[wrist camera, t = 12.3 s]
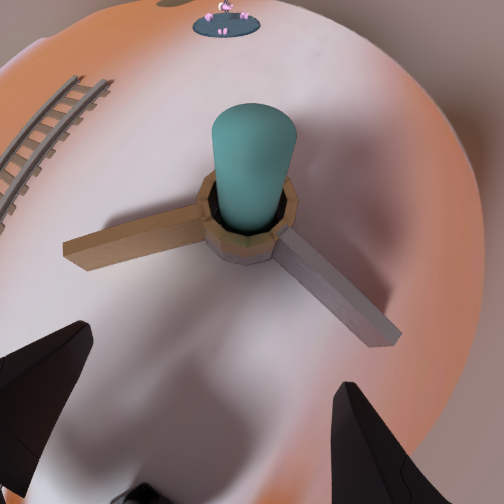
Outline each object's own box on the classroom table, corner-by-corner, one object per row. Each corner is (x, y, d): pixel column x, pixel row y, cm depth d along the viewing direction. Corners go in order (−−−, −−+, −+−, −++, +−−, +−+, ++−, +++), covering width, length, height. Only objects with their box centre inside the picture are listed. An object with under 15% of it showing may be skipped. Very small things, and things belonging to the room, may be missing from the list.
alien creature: (195, 17, 40) (193, -10, 34) (257, 15, 41) (259, -12, 34) (189, 41, 36) (186, 9, 30) (263, 39, 37) (266, 7, 31)
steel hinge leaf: (346, 375, 21) (368, 379, 17) (186, 223, 25) (177, 199, 21) (395, 310, 23) (422, 302, 19) (245, 174, 27) (247, 145, 23)
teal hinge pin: (246, 258, 24) (255, 179, 13) (210, 223, 25) (194, 130, 14) (281, 224, 25) (313, 133, 14) (246, 193, 26) (253, 93, 15)
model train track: (116, 91, 32) (112, 80, 30) (-18, 282, 22) (-28, 278, 20) (73, 83, 33) (69, 74, 31) (-43, 244, 23) (-51, 239, 21)
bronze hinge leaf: (161, 364, 21) (144, 367, 17) (82, 263, 23) (57, 247, 19) (304, 224, 25) (316, 200, 21) (214, 149, 28) (211, 119, 24)
